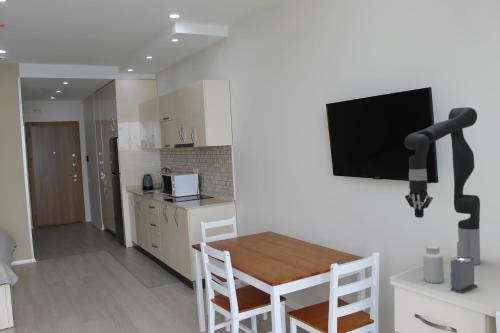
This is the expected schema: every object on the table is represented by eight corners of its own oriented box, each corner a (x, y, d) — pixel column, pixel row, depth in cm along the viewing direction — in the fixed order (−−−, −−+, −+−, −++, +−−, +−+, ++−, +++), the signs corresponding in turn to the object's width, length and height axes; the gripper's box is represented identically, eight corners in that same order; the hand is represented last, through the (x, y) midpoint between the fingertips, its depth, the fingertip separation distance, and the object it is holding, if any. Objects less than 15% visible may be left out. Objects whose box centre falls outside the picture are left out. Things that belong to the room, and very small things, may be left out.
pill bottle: (420, 279, 191) (419, 246, 190) (434, 276, 194) (433, 243, 193) (433, 284, 184) (432, 250, 183) (448, 281, 187) (447, 247, 185)
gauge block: (448, 289, 177) (447, 258, 176) (463, 283, 183) (462, 253, 183) (462, 293, 172) (461, 261, 171) (477, 286, 178) (476, 256, 178)
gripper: (436, 178, 189) (437, 218, 190) (410, 177, 200) (411, 214, 201) (426, 180, 184) (427, 220, 186) (399, 179, 196) (401, 216, 197)
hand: (419, 217), depth 193 cm, fingers closed
